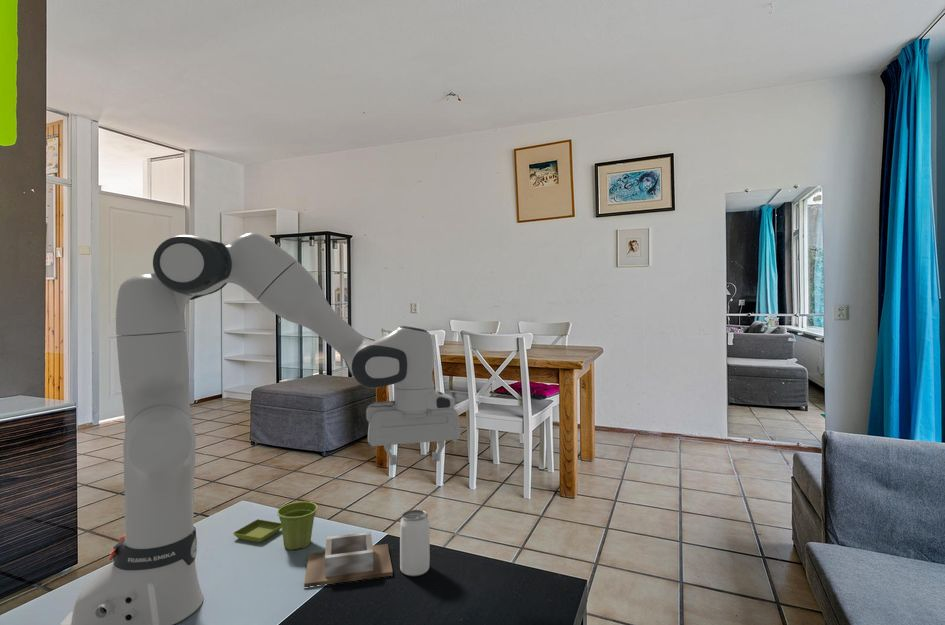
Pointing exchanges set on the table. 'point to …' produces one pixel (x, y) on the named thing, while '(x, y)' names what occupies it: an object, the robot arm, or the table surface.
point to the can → (414, 543)
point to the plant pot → (297, 523)
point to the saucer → (258, 530)
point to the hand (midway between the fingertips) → (414, 462)
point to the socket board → (348, 560)
